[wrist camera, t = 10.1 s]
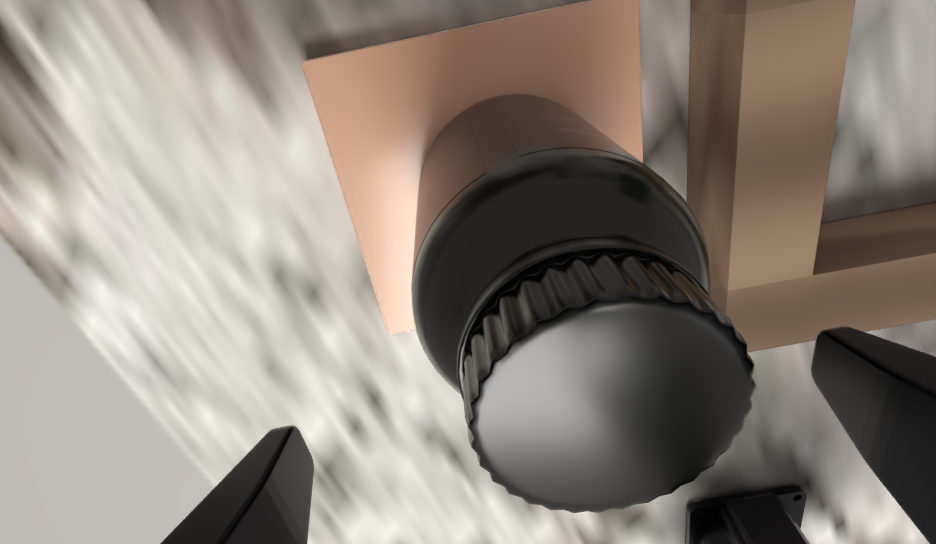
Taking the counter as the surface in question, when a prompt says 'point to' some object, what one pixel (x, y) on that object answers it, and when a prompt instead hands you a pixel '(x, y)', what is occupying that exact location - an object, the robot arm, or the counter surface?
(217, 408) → the counter surface
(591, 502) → the supplement bottle
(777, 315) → the walnut caddy
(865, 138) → the counter surface
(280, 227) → the counter surface
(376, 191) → the terracotta coaster
